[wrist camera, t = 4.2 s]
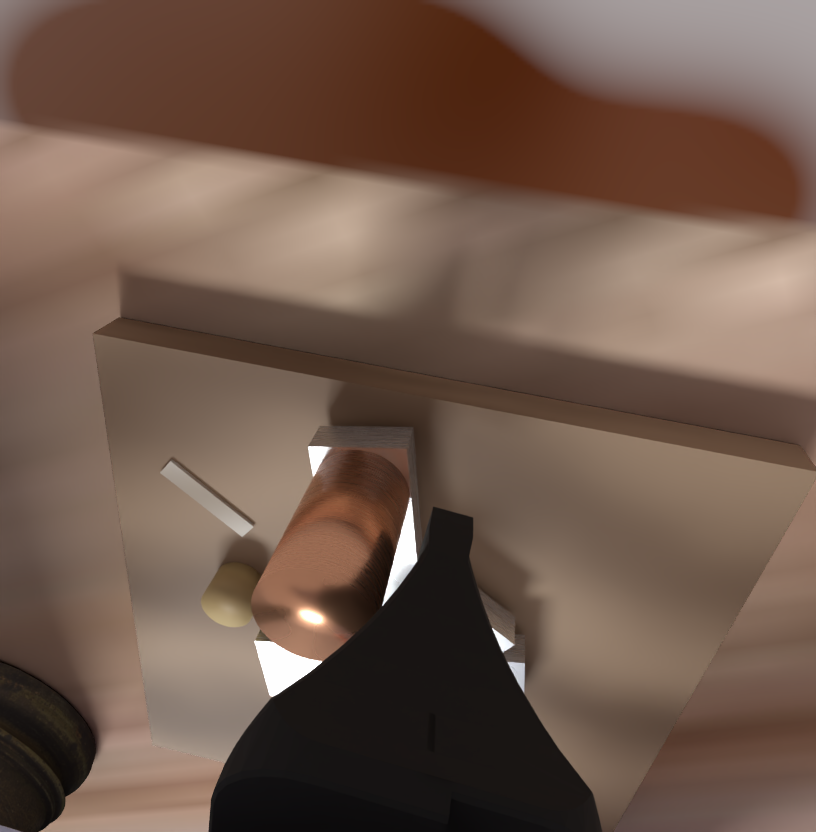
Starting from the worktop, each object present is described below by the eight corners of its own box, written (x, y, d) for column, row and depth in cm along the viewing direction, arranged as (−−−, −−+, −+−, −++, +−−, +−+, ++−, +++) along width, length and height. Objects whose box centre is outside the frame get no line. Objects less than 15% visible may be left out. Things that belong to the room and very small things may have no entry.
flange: (522, 745, 20) (522, 931, 16) (294, 721, 22) (236, 885, 17) (529, 429, 14) (532, 582, 10) (217, 424, 16) (100, 557, 12)
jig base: (596, 821, 24) (617, 1032, 19) (167, 718, 26) (73, 887, 20) (799, 445, 15) (950, 646, 10) (119, 317, 17) (-72, 432, 11)
